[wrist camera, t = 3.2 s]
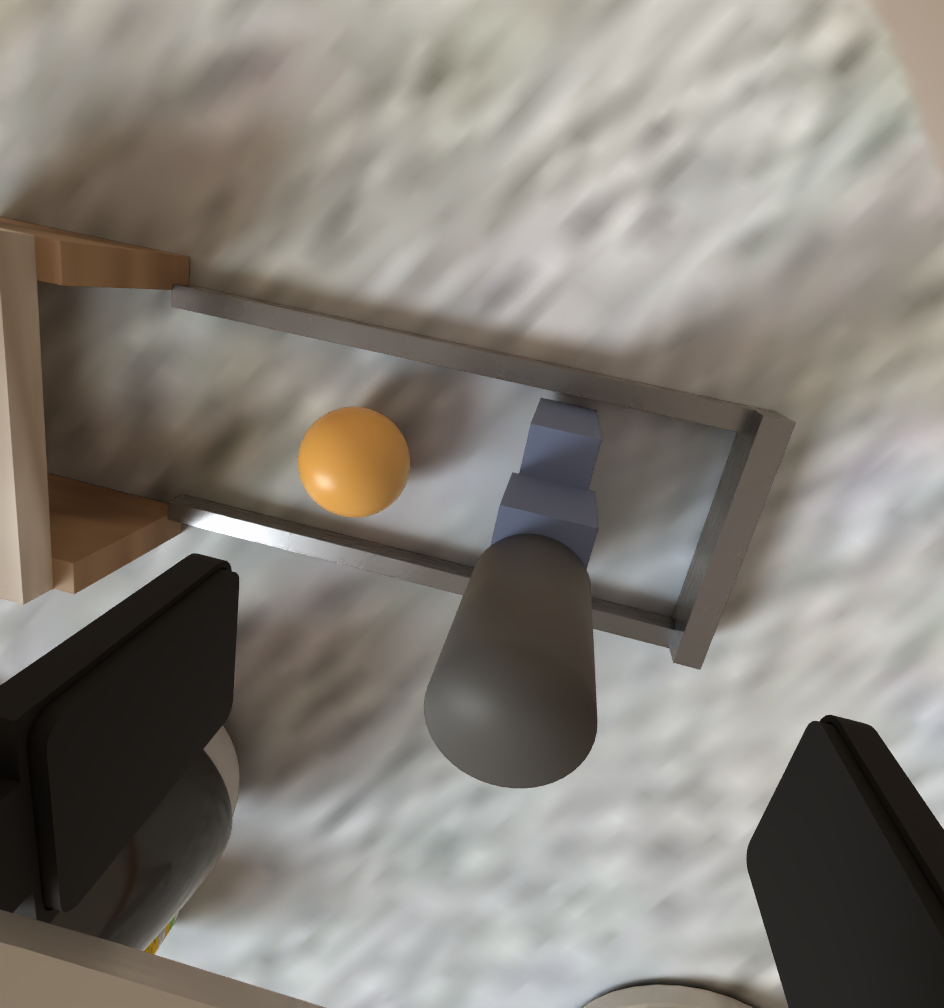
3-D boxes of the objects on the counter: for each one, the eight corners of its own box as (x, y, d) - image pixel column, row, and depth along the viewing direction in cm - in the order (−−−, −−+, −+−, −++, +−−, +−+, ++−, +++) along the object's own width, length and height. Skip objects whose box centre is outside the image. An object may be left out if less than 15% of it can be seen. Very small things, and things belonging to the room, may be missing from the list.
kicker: (610, 413, 21) (654, 558, 9) (562, 586, 24) (546, 886, 11) (527, 394, 21) (461, 511, 9) (488, 567, 24) (395, 841, 12)
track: (776, 411, 21) (795, 422, 19) (690, 641, 24) (700, 669, 22) (188, 285, 23) (154, 283, 21) (182, 511, 26) (151, 527, 24)
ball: (429, 411, 23) (400, 432, 19) (413, 508, 24) (383, 545, 20) (330, 389, 23) (282, 405, 19) (319, 485, 25) (272, 517, 21)
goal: (189, 257, 22) (22, 236, 16) (181, 532, 26) (45, 610, 20) (-16, 213, 23) (-258, 176, 16) (5, 487, 27) (-183, 547, 20)
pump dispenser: (203, 619, 28) (-194, 953, 13) (307, 795, 30) (63, 1239, 16) (46, 676, 30) (-422, 1004, 16) (152, 833, 33) (-175, 1241, 18)
